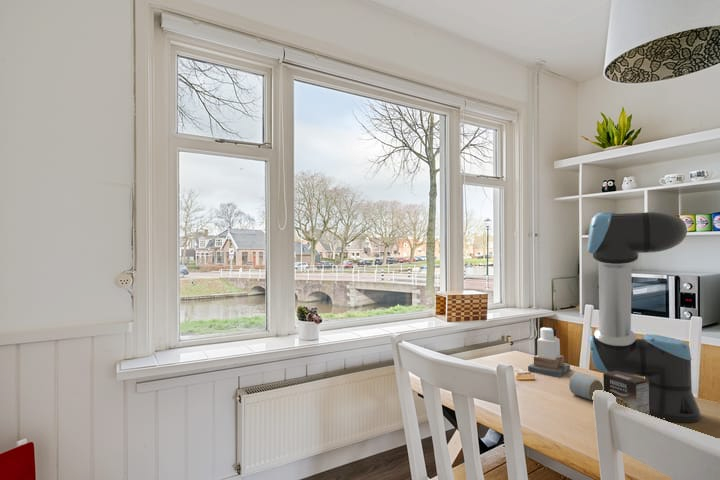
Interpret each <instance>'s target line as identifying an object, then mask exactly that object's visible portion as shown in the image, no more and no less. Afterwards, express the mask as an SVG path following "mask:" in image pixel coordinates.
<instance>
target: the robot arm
mask: <svg viewBox="0 0 720 480" xmlns="http://www.w3.org/2000/svg"><path fill="white" fill-rule="evenodd" d="M588 229H589V230H588V238H587V239H588V240H587V253H589V254H591V255H592V258H593V260H594V261H596V262H597V263H598V286H597V289H598V320H599V321H598V324H599V327H597V328H595V330H594V332H593V334H592V335H589V337H588V338H589V341H588V342H589V347H590V357H591V361H592V364H593V367H594V369H595V370H596V371H598V372H604V373H607V372H614V371H619V372H623V373H626V374H630V375H633V376H637V377H642V378H643V377H644V379H648V380H649V416H650V415H652V416H651V417H653V416H655V417H654V418H656V417H658V418H657V419H659V418H660V419H659V420H663V418H665V419H664V421H669V422H673V421H674V423H681V422H682V423H685V424H686V423H687V424H688V423H690V424H691V423H697V422H699V421H700V420H701V412H700V411H701V410H700V408H699V406H698V404H697V401H696V398H695V396H694V394H693V389H692V388H693V387H692V363H691V362H692V360H693V359H692V355H691V349H690V346H689V345H688V343H686V342H684V341H682V340H680V339H676V338H674V337H669V336H664V335H658V334H647V333H646V334H644V335H643V337H642V338H637V335H636V333H635V332H634V331H633V330H631V329H632V277H633V276H632V272H633V271H632V270H633V269H632V267H633V265H632V264H633V263H636V261H638V259H639V254H640V253H641V254H642V253H643V254H644V253H650V254H651V253H659V252H663V251H667V250H670V249H672V248H674V247H677V246H678V245H680V244H681V243H682V242H683V241H684V239H685V238H686V237H687V235H688V227H687V224H686V223H685V221H684V220H683V219H682V218H681V217H679V216H677V215H675V214H671V213H666V212H665V213H664V212H657V211H647V212H626V213H624V212H623V213H616V212H614V211H613V212H611V211H610V212H609V211H607V212H605V211H604V212H598V213H596V214H595V215H594V216H593V217H592V218H591V220H590V223H589V228H588ZM676 421H677V422H676Z"/></svg>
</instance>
